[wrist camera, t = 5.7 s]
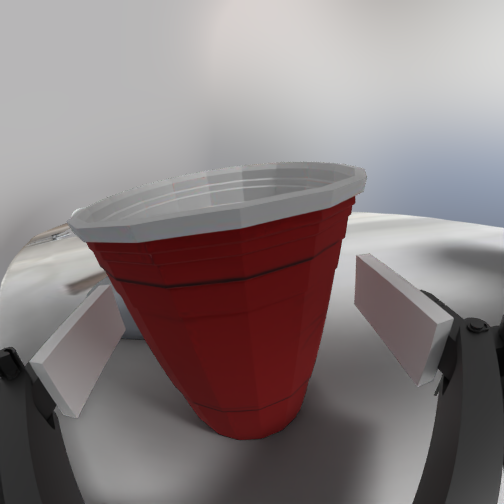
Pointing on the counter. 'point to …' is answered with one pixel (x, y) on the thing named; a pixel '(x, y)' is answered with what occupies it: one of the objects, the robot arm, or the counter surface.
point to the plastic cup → (230, 280)
